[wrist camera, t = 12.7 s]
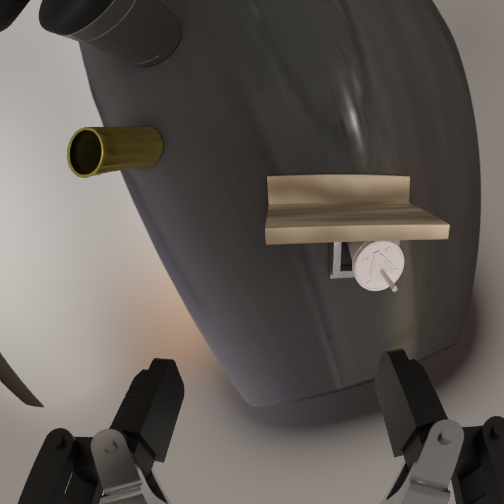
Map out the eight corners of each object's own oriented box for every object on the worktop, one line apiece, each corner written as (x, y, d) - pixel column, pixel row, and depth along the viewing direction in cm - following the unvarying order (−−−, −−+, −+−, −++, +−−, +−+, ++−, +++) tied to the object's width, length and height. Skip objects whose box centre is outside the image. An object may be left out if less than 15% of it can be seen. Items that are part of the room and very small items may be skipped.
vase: (147, 118, 34) (87, 110, 20) (172, 147, 35) (117, 152, 22) (120, 146, 35) (56, 154, 22) (143, 176, 37) (83, 194, 24)
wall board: (267, 175, 36) (262, 189, 24) (406, 176, 33) (452, 190, 22) (269, 214, 37) (266, 244, 26) (405, 211, 35) (447, 238, 24)
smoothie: (345, 266, 39) (372, 320, 26) (330, 228, 37) (356, 271, 24) (383, 249, 38) (424, 296, 25) (371, 210, 36) (414, 244, 23)
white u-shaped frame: (329, 212, 37) (334, 219, 33) (392, 211, 36) (401, 218, 32) (328, 272, 40) (332, 283, 37) (386, 269, 39) (394, 279, 36)
